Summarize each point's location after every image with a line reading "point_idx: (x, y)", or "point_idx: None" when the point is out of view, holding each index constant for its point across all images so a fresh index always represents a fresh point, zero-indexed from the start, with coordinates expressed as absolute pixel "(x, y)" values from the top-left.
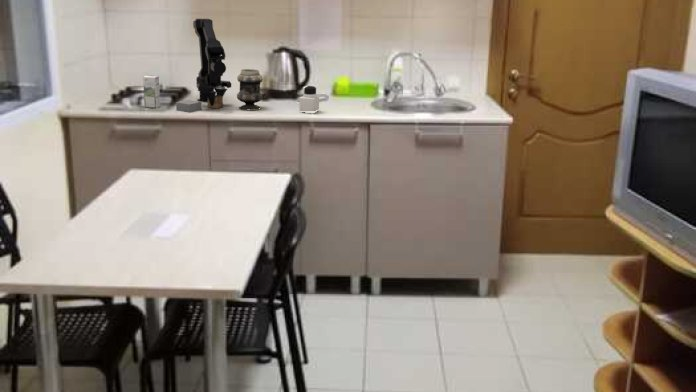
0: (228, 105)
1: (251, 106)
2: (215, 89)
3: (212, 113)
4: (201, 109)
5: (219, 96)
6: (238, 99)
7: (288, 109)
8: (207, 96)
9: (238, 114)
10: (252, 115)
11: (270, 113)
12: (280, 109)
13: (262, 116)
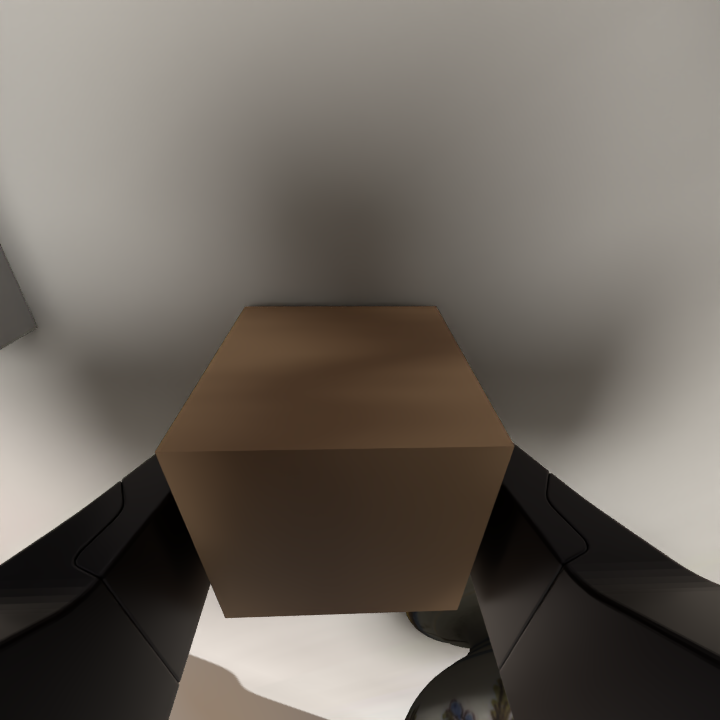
0: (574, 419)
1: (464, 642)
2: (704, 701)
3: (48, 523)
4: (30, 330)
5: (385, 597)
6: (447, 684)
7: None
8: (48, 533)
9: (224, 632)
10: (270, 672)
11: (394, 688)
12: None
13: (289, 695)
